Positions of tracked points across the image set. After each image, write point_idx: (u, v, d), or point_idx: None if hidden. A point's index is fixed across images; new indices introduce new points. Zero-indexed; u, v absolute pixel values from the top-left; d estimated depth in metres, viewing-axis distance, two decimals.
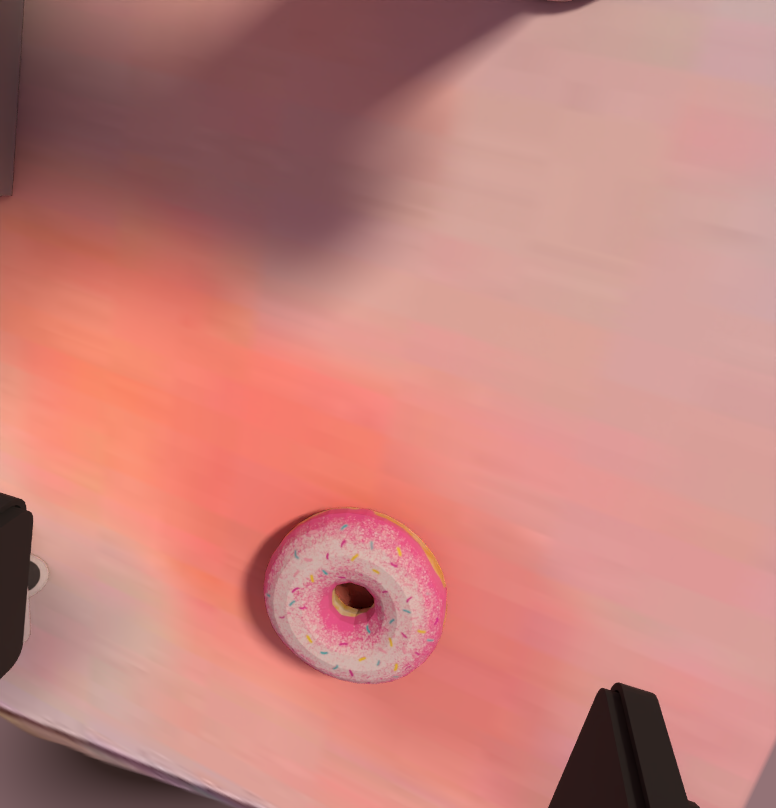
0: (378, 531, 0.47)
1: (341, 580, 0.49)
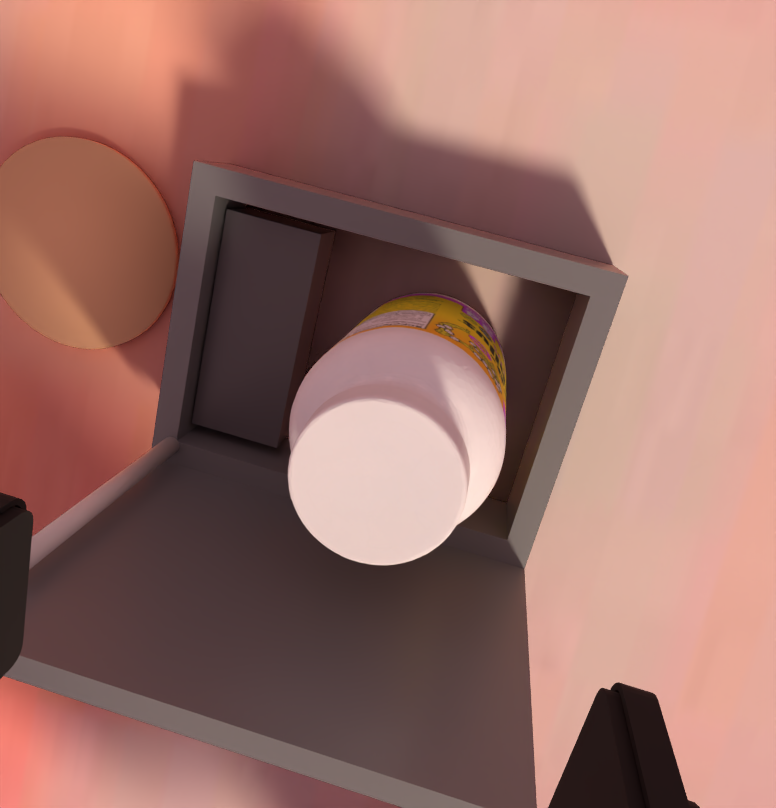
0: None
1: None
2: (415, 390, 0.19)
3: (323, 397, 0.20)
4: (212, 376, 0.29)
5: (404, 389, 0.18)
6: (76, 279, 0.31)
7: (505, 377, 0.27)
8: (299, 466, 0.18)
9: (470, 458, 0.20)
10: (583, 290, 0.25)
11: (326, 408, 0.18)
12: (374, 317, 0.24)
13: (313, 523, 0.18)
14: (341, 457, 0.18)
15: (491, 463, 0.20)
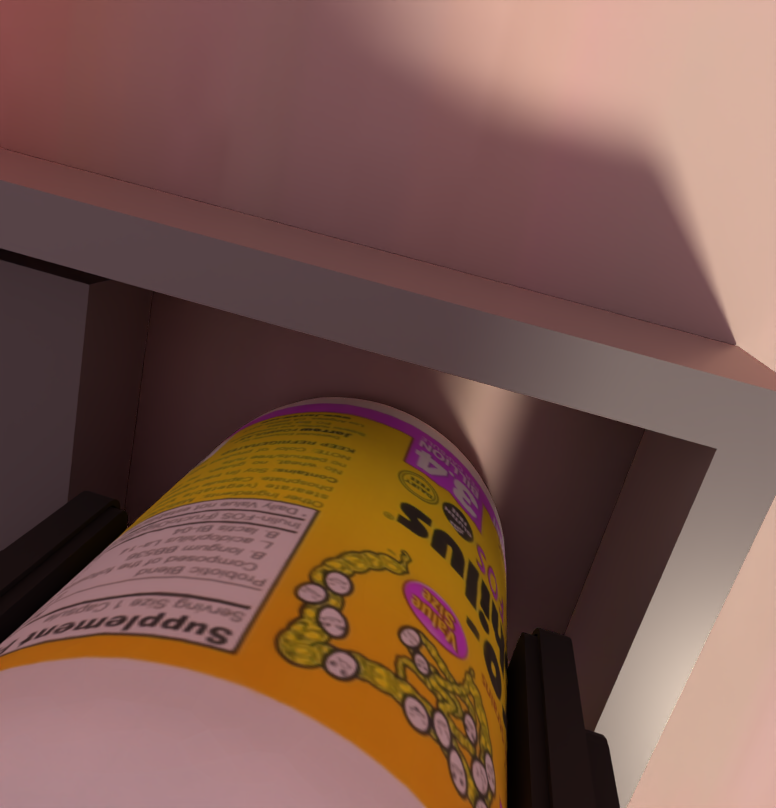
0: None
1: None
2: None
3: None
4: None
5: None
6: None
7: (505, 608, 0.12)
8: None
9: None
10: (699, 434, 0.10)
11: None
12: (160, 519, 0.09)
13: None
14: None
15: None
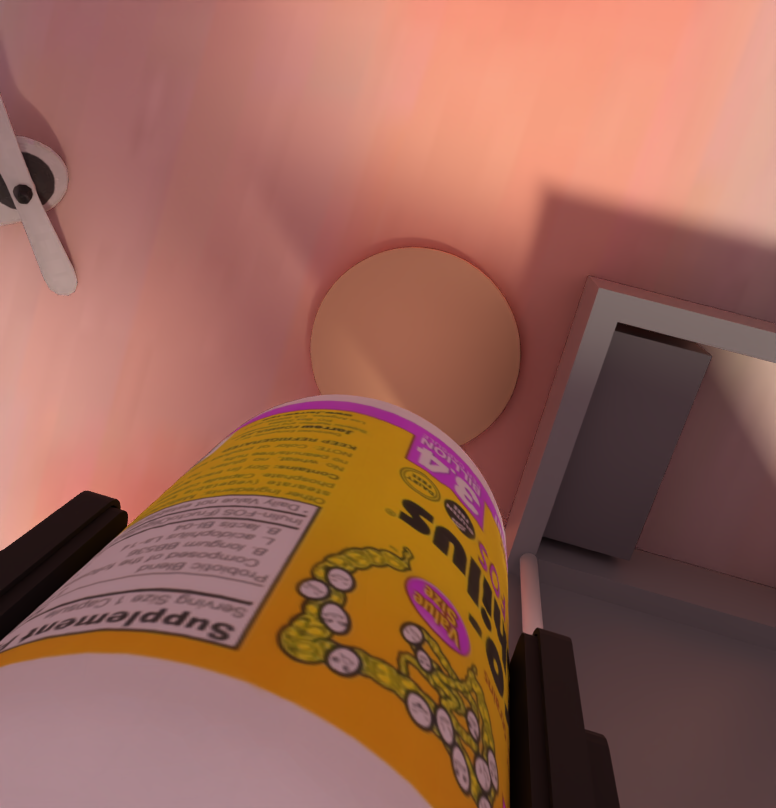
0: None
1: None
2: None
3: None
4: (569, 491, 0.29)
5: None
6: (409, 386, 0.30)
7: (507, 606, 0.12)
8: None
9: None
10: None
11: None
12: (161, 516, 0.09)
13: None
14: None
15: None
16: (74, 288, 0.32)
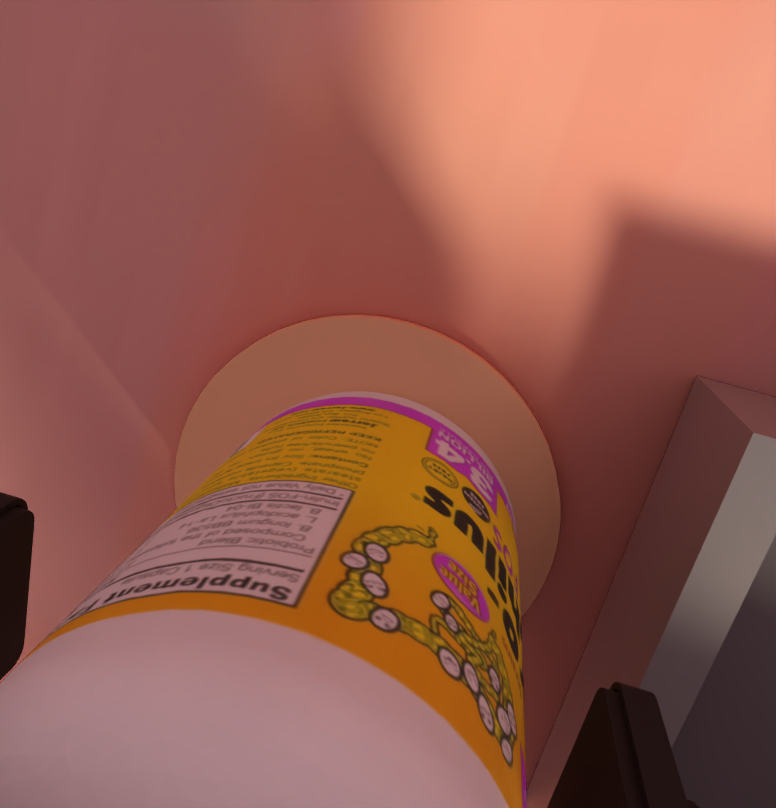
0: None
1: None
2: None
3: None
4: None
5: None
6: None
7: (518, 585, 0.13)
8: None
9: None
10: None
11: None
12: (211, 499, 0.10)
13: None
14: None
15: None
16: None
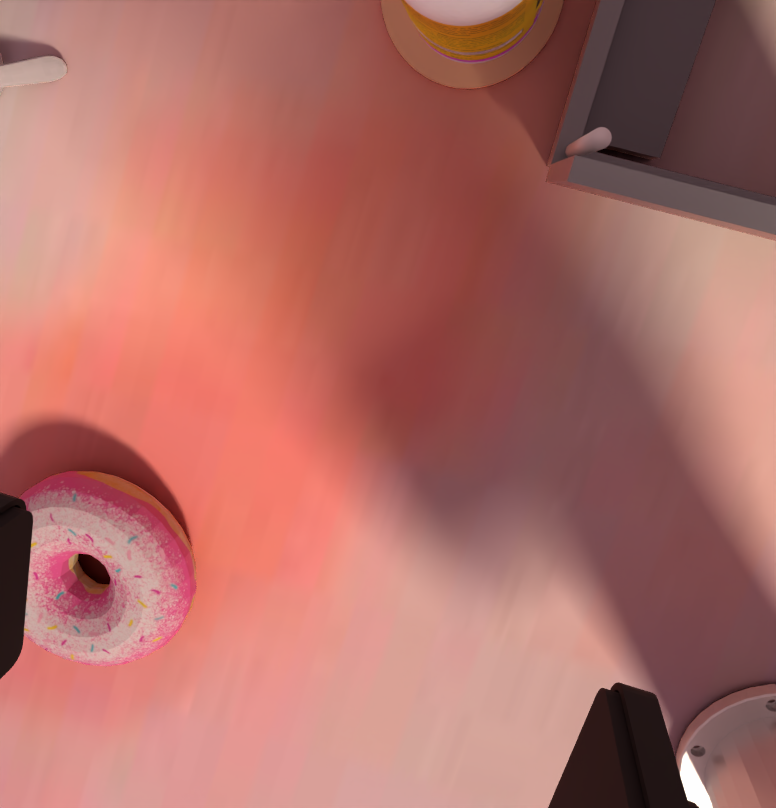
0: (175, 617, 0.44)
1: (111, 577, 0.44)
2: None
3: None
4: (609, 90, 0.33)
5: None
6: None
7: None
8: None
9: None
10: None
11: None
12: None
13: None
14: None
15: None
16: None
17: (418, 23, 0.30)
